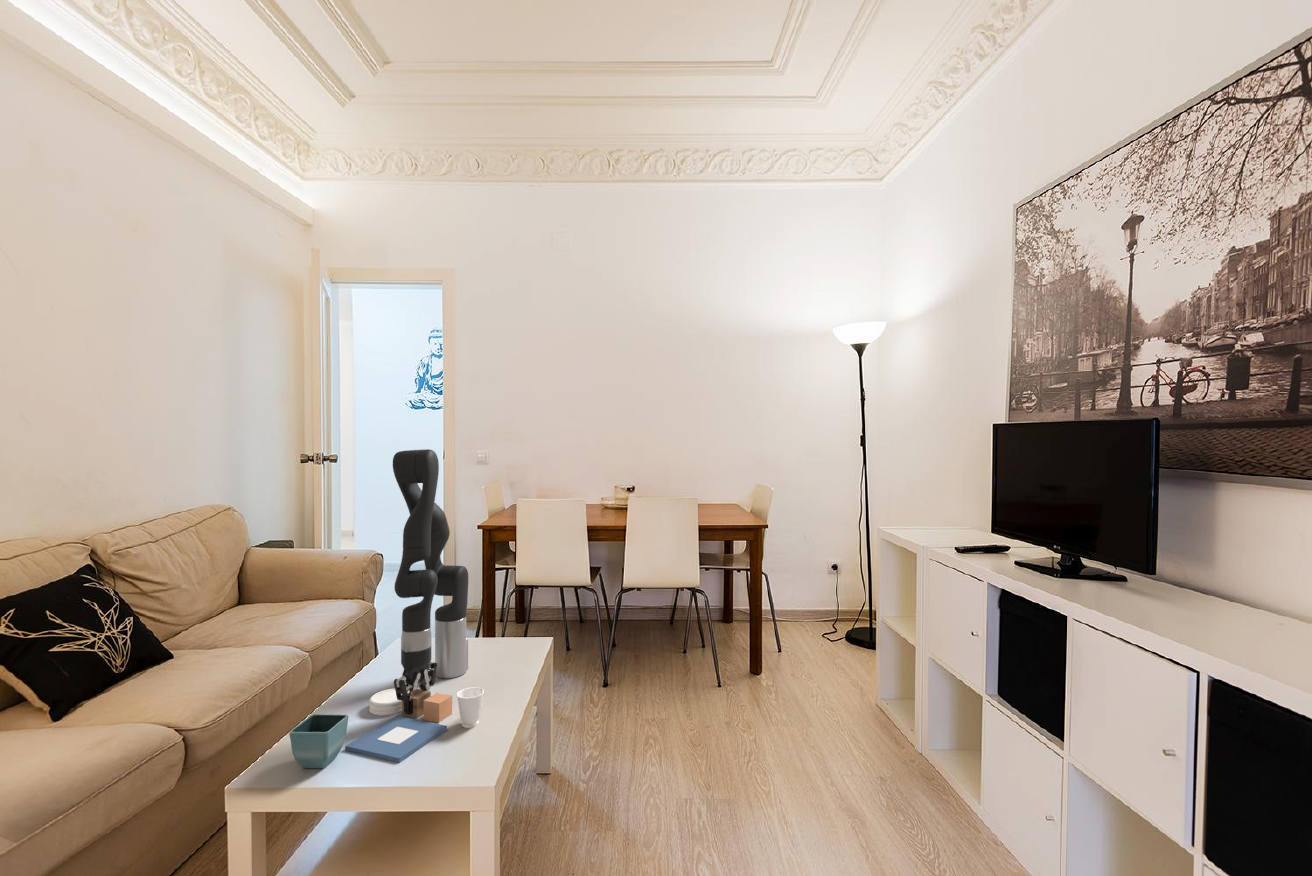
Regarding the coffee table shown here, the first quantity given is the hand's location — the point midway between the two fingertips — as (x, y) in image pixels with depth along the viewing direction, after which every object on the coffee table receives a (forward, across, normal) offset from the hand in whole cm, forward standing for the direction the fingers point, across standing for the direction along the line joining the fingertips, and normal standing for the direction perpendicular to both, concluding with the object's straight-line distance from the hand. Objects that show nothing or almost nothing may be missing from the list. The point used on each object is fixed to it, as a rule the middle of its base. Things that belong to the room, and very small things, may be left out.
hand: (416, 709), depth 159 cm
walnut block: (+1, 0, 0) cm, 1 cm away
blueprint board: (+1, +13, +6) cm, 14 cm away
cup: (+1, -1, +17) cm, 17 cm away
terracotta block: (+1, 0, +7) cm, 7 cm away
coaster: (+1, 0, -9) cm, 9 cm away
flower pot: (+1, +27, -3) cm, 27 cm away
